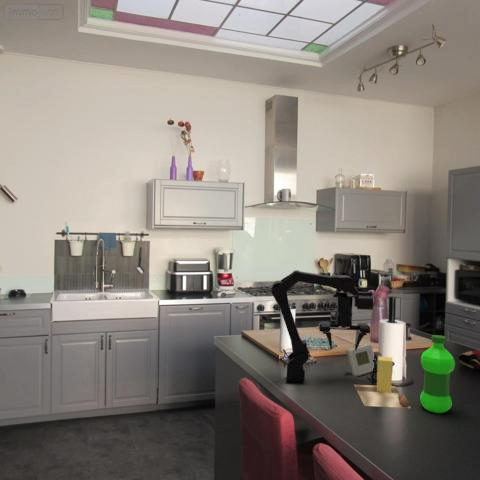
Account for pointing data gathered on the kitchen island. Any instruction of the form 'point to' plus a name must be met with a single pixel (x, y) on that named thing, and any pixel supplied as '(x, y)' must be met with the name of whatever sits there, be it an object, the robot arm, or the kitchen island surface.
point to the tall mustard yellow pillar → (384, 374)
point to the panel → (378, 396)
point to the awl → (403, 400)
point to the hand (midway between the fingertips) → (343, 349)
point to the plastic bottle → (437, 376)
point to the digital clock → (360, 360)
